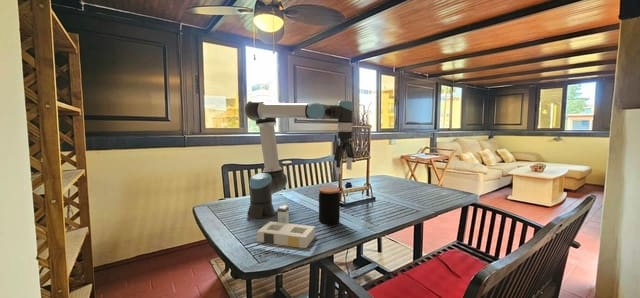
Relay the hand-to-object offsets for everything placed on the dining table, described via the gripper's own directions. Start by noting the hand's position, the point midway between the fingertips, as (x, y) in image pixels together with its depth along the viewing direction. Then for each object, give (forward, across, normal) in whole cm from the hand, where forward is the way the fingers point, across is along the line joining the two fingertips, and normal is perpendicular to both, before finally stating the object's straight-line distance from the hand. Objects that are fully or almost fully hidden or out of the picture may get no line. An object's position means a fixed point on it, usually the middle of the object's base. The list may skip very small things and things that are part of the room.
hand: (344, 171), depth 145 cm
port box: (+26, -37, +10) cm, 47 cm away
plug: (+25, -27, +20) cm, 42 cm away
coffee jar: (+26, -8, +4) cm, 28 cm away
